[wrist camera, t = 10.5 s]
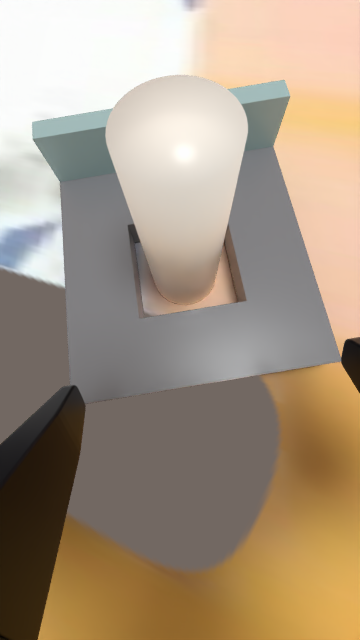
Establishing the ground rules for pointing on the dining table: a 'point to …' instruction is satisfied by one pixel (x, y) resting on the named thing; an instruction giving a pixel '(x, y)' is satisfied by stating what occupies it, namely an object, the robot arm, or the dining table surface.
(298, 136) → the dining table surface
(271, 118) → the housing
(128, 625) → the dining table surface
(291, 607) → the dining table surface
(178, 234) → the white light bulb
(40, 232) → the dining table surface
